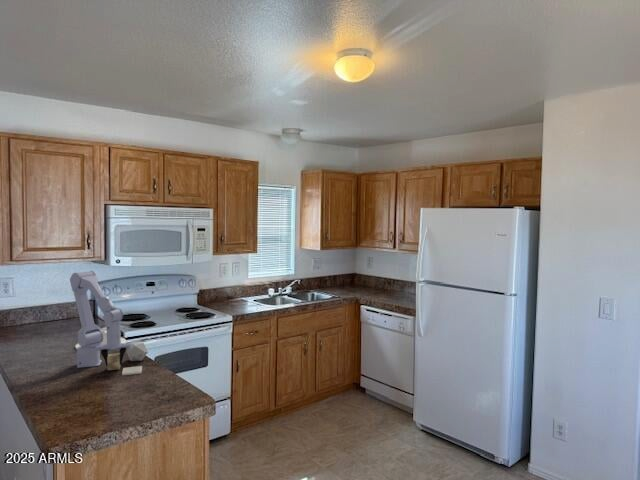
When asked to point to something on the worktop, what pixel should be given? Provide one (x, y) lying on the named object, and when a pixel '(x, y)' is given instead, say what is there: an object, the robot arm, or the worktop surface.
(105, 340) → the dish
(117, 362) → the maple block
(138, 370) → the tray
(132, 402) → the worktop surface
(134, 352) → the die
